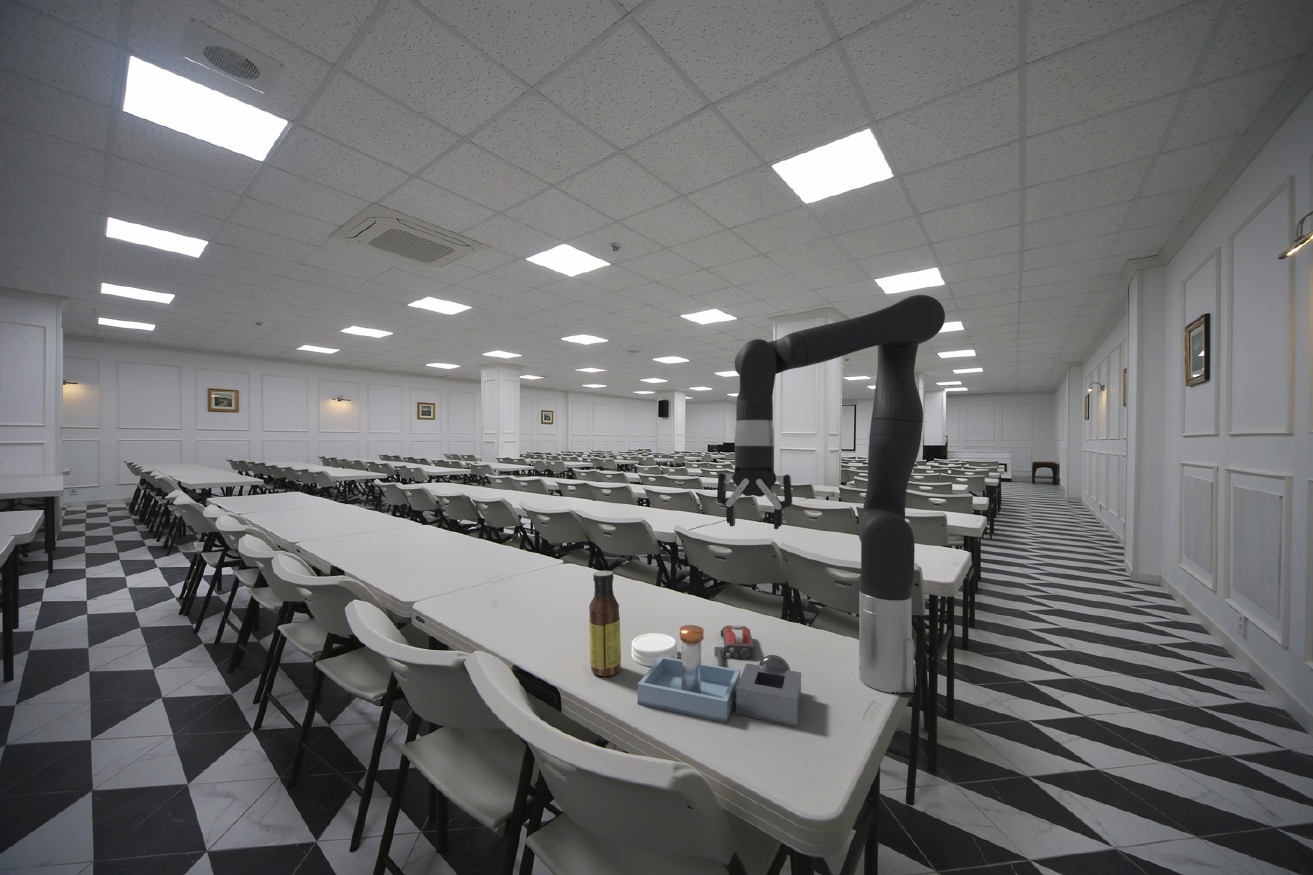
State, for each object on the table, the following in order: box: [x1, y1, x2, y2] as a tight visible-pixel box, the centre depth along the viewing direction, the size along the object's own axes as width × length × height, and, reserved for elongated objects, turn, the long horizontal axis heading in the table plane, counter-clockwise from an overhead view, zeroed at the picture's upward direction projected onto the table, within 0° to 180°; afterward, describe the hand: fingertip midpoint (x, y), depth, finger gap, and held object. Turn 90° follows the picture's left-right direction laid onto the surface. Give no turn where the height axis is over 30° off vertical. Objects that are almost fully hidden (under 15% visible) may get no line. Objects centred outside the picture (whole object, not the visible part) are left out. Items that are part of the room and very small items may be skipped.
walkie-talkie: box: [713, 625, 756, 667], centre depth 105 cm, size 9×4×20 cm
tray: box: [637, 656, 741, 724], centre depth 87 cm, size 16×12×4 cm
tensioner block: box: [735, 654, 802, 728], centre depth 85 cm, size 10×12×6 cm
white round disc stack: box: [630, 632, 678, 668], centre depth 103 cm, size 10×10×4 cm
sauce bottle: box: [588, 570, 622, 677], centre depth 97 cm, size 6×6×20 cm
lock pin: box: [679, 624, 705, 694], centre depth 87 cm, size 4×4×12 cm
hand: (753, 527), depth 92 cm, fingers open, 8 cm apart
